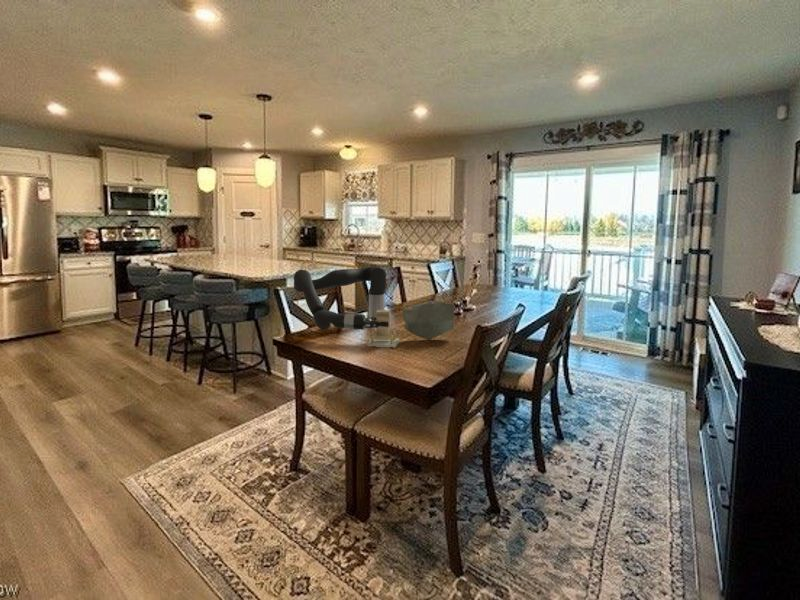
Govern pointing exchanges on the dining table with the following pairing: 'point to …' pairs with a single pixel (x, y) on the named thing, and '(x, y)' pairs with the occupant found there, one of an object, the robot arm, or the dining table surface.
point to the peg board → (383, 341)
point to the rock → (429, 319)
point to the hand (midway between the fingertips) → (388, 323)
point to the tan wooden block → (381, 331)
